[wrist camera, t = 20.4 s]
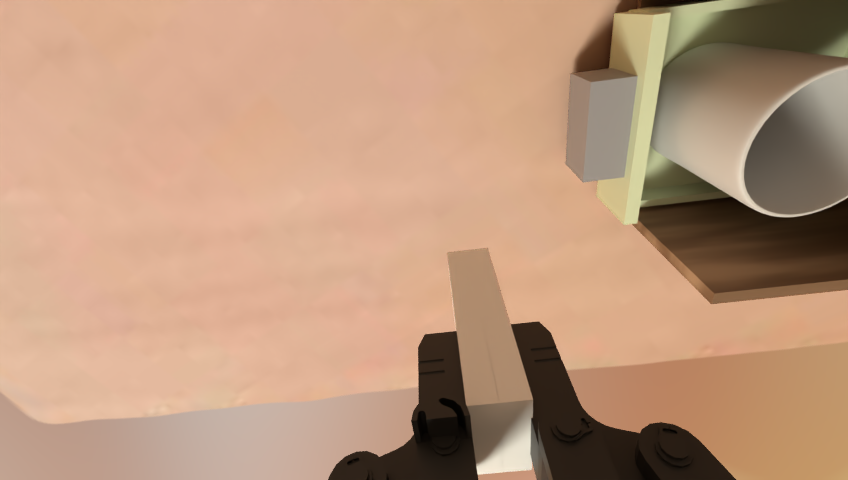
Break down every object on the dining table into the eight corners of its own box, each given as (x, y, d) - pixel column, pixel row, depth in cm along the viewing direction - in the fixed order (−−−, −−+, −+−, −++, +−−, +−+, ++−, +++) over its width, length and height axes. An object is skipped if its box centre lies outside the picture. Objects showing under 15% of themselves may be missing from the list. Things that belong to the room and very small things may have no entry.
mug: (642, 171, 33) (733, 237, 24) (636, 65, 29) (741, 94, 20) (800, 124, 32) (964, 175, 22) (816, 5, 28) (1026, 5, 18)
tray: (571, 17, 28) (601, 20, 24) (871, -24, 28) (964, -30, 23) (561, 200, 36) (583, 230, 31) (799, 172, 35) (859, 199, 30)
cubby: (639, -14, 28) (832, -30, 15) (895, -50, 27) (1330, -100, 14) (613, 204, 36) (722, 315, 24) (808, 182, 36) (1032, 282, 23)
